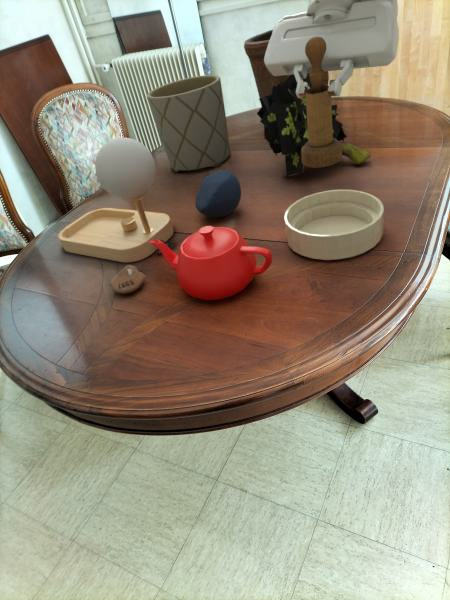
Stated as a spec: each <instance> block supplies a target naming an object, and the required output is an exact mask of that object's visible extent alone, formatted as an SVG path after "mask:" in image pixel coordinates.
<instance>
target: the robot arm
mask: <svg viewBox="0 0 450 600" xmlns="http://www.w3.org/2000/svg"><path fill="white" fill-rule="evenodd" d="M398 14H399V5H398V0H308V5H307V10H306V11H304V12H299V13H296V14H287V15H284V16H283V17H282V19H280V20H278V21H277V22H276V23H275V24H274V25H273V28H272V30H273V32H272V36H271V38H270V41H269V44H268V47H267V50H266V53H265V57H264V63H265V65H266V67H267V69H268V70H269V71H270V73H271V74H272V75H273V76H283V75H293V74H294V75H295V78H296V81H297V83H298V84H297V88H296V95H297V97H298V98H306V96H305V91H306V90H308V89H310V87H309V86H308V84H307V82H303V79H305V78H306V76H307V73H310V72H311V69H312V65H311V63H310V61H309V59H308V58H307V56H306V53H305V46H306V43H307V42H308V40H310V39H311V38H314V37H322V38H323V39H324V40H325V42H326V52H325V55H324V58H323V60H322V64H321V67H322V70H324V71H328V72H335V71H339V73H338V74H337V76H336V78H334V79H329V81H328V86H329V87H328V93H329V94H330V96H331V97H340V96H341V95H342V89H343V86H345V85H346V83H347V82H348V80H349V79H350V78H351V77H352V76H353V74H354V70H356V69H366V68H375V67H376V68H377V67H387V66H389V65H390V64H391V63H393V61H395V59H396V58H397V54H398V48H399V38H400V30H399V29H400V28H399V23H398Z"/></svg>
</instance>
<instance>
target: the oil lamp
mask: <svg viewBox="0 0 450 600" xmlns="http://www.w3.org/2000/svg"><path fill="white" fill-rule="evenodd" d="M146 278H147V276H146V274H144V273H143V272H141V271H139V267H137V266H136V265H135V266H134V265H132V264H126V265H125V266H124V267H123V268H122V269H121V270H120V271H119V272H117V273H116V274H115V275H114V276H113V277H112V279H111V280H110V282H109V284H108V285H109V286H110V288H112V289H113V291H114V292H116V293H118V294H130V293H134V292H135V291H137V290H138V289H139V288H140V287H141V286H142V285H143V283H144V281H145V280H146Z"/></svg>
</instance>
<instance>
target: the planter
mask: <svg viewBox="0 0 450 600" xmlns="http://www.w3.org/2000/svg"><path fill="white" fill-rule="evenodd" d="M146 99H147V102H148V105H149V108H150V111H151V115H152V117H153V119H154V123H155V126H156V128H157V131H158V134H159V137H160V140H161V143H162V146H163V147H164V151H165V153H166V157H167V160H168V162H169V165H170V166H171V169H172V170H173V171H174V172H175V173H180V171H194V170H195V171H196V170H200V169H204V168H208V167H213V168H218V167H220V166H221V164H222V163H224V162H225V161H226V160H227V158H228V157H229V156H230V154H231V147H230V139H229V131H228V124H227V123H228V122H227V117H226V109H225V108H226V107H225V101H224V95H223V88H222V82H221V77H220V76H219V75H216V74H204V75H203V74H202V75H197V76H191V77H186V78H182V79H179V80H174V81H171V82H168V83H166V84H163V85H159V86H158V87H155V88H154V89H152V90H150V91H149V92H148V93H147V94H146Z"/></svg>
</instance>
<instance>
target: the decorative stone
mask: <svg viewBox="0 0 450 600" xmlns="http://www.w3.org/2000/svg"><path fill="white" fill-rule="evenodd" d="M241 188H242V187H241V184H240V180H238V177H237V176H236V175H235V174H234V173H233V172H232V171H231V170H225V169H224V170H223V169H221V170H218V171H215V172H214V173H210V174H209V175H207V176H205V177H204V178H203V180H202V181H201V183H200V185H199V188H198V190H197V193H196V195H195V209H196V210H197V211H198V212H199V213H200V214H202V215H203V216H206V217H212V218H222V217H225V216H228V215H230V214H232V213H233V212H234V211H235V210H236V209H237V207H238V206H239V204H240V201H241V197H242V189H241Z"/></svg>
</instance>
